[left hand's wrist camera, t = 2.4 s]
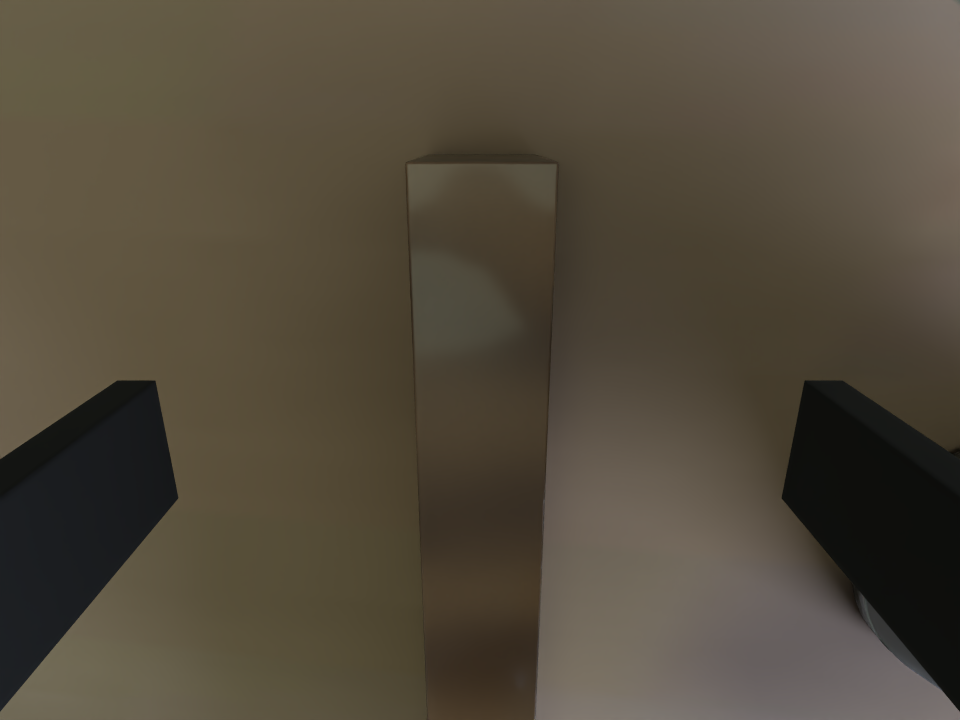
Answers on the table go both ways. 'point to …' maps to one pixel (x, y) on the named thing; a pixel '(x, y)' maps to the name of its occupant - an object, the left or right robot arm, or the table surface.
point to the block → (481, 421)
